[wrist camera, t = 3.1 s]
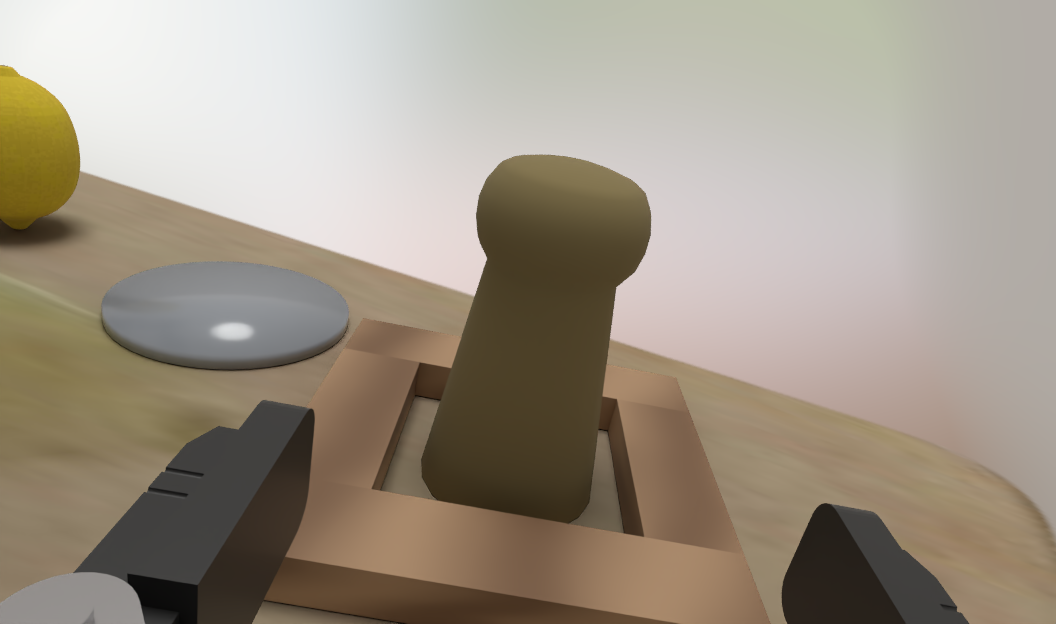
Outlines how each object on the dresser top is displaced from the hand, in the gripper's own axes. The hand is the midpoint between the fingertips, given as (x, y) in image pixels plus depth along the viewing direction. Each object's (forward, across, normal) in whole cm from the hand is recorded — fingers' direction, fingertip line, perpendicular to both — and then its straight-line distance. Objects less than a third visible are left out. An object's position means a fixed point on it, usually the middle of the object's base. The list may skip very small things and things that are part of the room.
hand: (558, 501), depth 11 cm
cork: (+11, 0, +8) cm, 13 cm away
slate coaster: (+19, +13, +8) cm, 24 cm away
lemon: (+24, +26, +8) cm, 36 cm away
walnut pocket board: (+11, 0, +8) cm, 13 cm away
